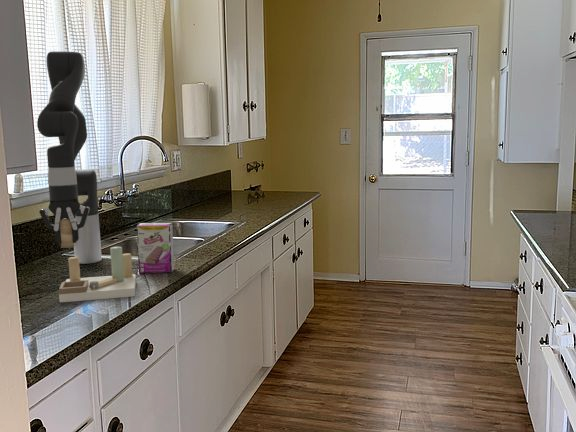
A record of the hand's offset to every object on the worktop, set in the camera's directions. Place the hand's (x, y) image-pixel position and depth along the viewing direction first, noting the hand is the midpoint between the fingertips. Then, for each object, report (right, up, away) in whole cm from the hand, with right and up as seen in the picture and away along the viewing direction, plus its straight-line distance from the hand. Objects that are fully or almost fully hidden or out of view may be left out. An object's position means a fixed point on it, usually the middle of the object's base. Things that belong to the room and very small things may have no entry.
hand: (67, 242), depth 166 cm
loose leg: (0, -1, 0) cm, 1 cm away
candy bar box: (+19, -11, +29) cm, 36 cm away
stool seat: (+7, -15, +8) cm, 18 cm away
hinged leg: (+10, -12, +6) cm, 17 cm away
